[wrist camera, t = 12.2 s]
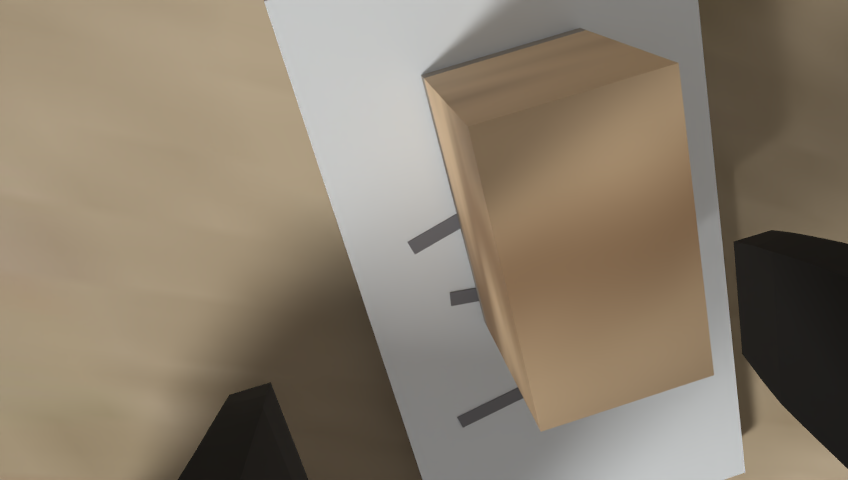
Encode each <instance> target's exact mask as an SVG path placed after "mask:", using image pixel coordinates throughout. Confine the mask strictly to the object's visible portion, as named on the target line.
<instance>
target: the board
mask: <svg viewBox="0 0 848 480" xmlns="http://www.w3.org/2000/svg"><path fill="white" fill-rule="evenodd" d="M264 2H265V5H266V9H267V12H268V15H269V18H270V21H271V24H272V27H273V30H274V33H275V36H276V39H277V42H278V45H279V48H280V51H281V54H282V57H283V60H284V63H285V66H286V69H287V72H288V75H289V78H290V81H291V84H292V87H293V90H294V93H295V96H296V99H297V102H298V105H299V108H300V111H301V114H302V117H303V120H304V123H305V126H306V129H307V132H308V135H309V138H310V141H311V144H312V147H313V150H314V154H315V157H316V160H317V163H318V166H319V169H320V172H321V175H322V178H323V181H324V184H325V187H326V190H327V193H328V196H329V199H330V202H331V205H332V208H333V211H334V214H335V217H336V220H337V223H338V226H339V229H340V232H341V235H342V238H343V241H344V244H345V247H346V250H347V253H348V256H349V259H350V262H351V265H352V268H353V271H354V274H355V277H356V280H357V283H358V286H359V289H360V292H361V295H362V299H363V302H364V305H365V308H366V311H367V314H368V317H369V320H370V323H371V326H372V329H373V332H374V335H375V338H376V341H377V344H378V347H379V350H380V353H381V356H382V359H383V362H384V365H385V368H386V371H387V374H388V377H389V380H390V383H391V386H392V389H393V392H394V395H395V398H396V401H397V404H398V407H399V410H400V413H401V416H402V419H403V422H404V425H405V428H406V431H407V434H408V437H409V440H410V443H411V447H412V450H413V453H414V456H415V459H416V462H417V465H418V468H419V471H420V474H421V477H422V480H724V479H727V478H730V477H733V476H736V475H739V474H742V473H745V465H744V455H743V445H742V435H741V425H740V415H739V405H738V395H737V385H736V375H735V365H734V355H733V345H732V335H731V325H730V315H729V305H728V295H727V285H726V275H725V265H724V255H723V245H722V235H721V225H720V215H719V205H718V194H717V184H716V174H715V164H714V154H713V144H712V134H711V124H710V114H709V104H708V94H707V84H706V74H705V64H704V54H703V44H702V34H701V24H700V14H699V4H698V0H264ZM578 28H582V29H585V30H587V31H590V32H593V33H596V34H599V35H602V36H604V37H607V38H610V39H613V40H616V41H618V42H621V43H624V44H627V45H630V46H632V47H635V48H638V49H641V50H644V51H646V52H649V53H652V54H655V55H658V56H660V57H663V58H666V59H669V60H672V61H674V62H677V63H679V71H680V79H681V88H682V97H683V106H684V115H685V123H686V132H687V141H688V150H689V158H690V167H691V176H692V185H693V193H694V202H695V211H696V220H697V229H698V237H699V246H700V255H701V264H702V272H703V281H704V290H705V299H706V308H707V316H708V325H709V334H710V343H711V351H712V360H713V369H714V375H713V376H710V377H707V378H704V379H701V380H698V381H695V382H692V383H689V384H686V385H683V386H679V387H676V388H673V389H670V390H667V391H664V392H661V393H658V394H655V395H652V396H649V397H646V398H643V399H640V400H637V401H634V402H631V403H628V404H624V405H621V406H618V407H615V408H612V409H609V410H606V411H603V412H600V413H597V414H594V415H591V416H588V417H585V418H582V419H579V420H576V421H573V422H569V423H566V424H563V425H560V426H557V427H554V428H551V429H548V430H545V431H542V432H541V431H540V429H539V427H538V425H537V423H536V422H535V420H534V418H533V416H532V414H531V412H530V410H529V408H528V406H527V404H526V402H525V400H524V398H523V396H522V394H521V392H520V390H519V388H518V386H517V384H516V382H515V380H514V378H513V376H512V375H511V373H510V371H509V369H508V367H507V365H506V363H505V361H504V359H503V357H502V355H501V353H500V351H499V349H498V347H497V345H496V343H495V341H494V339H493V337H492V335H491V333H490V331H489V330H488V328H487V326H486V324H485V322H484V318H483V314H482V310H481V306H480V302H479V299H478V295H477V291H476V287H475V283H474V279H473V275H472V271H471V267H470V264H469V260H468V256H467V252H466V248H465V244H464V240H463V236H462V233H461V229H460V225H459V221H458V217H457V213H456V209H455V205H454V201H453V198H452V194H451V190H450V186H449V182H448V178H447V174H446V170H445V167H444V163H443V159H442V155H441V151H440V147H439V143H438V139H437V135H436V132H435V128H434V124H433V120H432V116H431V112H430V108H429V104H428V101H427V97H426V93H425V89H424V85H423V81H422V77H421V75H423V74H426V73H430V72H433V71H436V70H440V69H443V68H446V67H450V66H453V65H457V64H460V63H463V62H467V61H470V60H473V59H477V58H480V57H484V56H487V55H490V54H494V53H497V52H500V51H504V50H507V49H511V48H514V47H517V46H521V45H524V44H527V43H531V42H534V41H537V40H541V39H544V38H548V37H551V36H554V35H558V34H561V33H564V32H568V31H571V30H575V29H578Z"/></svg>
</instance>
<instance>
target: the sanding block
mask: <svg viewBox="0 0 848 480" xmlns="http://www.w3.org/2000/svg"><path fill="white" fill-rule="evenodd" d="M421 77H422V81H423V85H424V89H425V93H426V97H427V101H428V104H429V108H430V112H431V116H432V120H433V124H434V128H435V132H436V135H437V139H438V143H439V147H440V151H441V155H442V159H443V163H444V167H445V170H446V174H447V178H448V182H449V186H450V190H451V194H452V198H453V201H454V205H455V209H456V213H457V217H458V221H459V225H460V229H461V233H462V236H463V240H464V244H465V248H466V252H467V256H468V260H469V264H470V267H471V271H472V275H473V279H474V283H475V287H476V291H477V295H478V299H479V302H480V306H481V310H482V314H483V318H484V322H485V324H486V326H487V328H488V330H489V331H490V333H491V335H492V337H493V339H494V341H495V343H496V345H497V347H498V349H499V351H500V353H501V355H502V357H503V359H504V361H505V363H506V365H507V367H508V369H509V371H510V373H511V375H512V376H513V378H514V380H515V382H516V384H517V386H518V388H519V390H520V392H521V394H522V396H523V398H524V400H525V402H526V404H527V406H528V408H529V410H530V412H531V414H532V416H533V418H534V420H535V422H536V423H537V425H538V427H539V429H540V431H541V432H542V431H545V430H548V429H551V428H554V427H557V426H560V425H563V424H566V423H569V422H573V421H576V420H579V419H582V418H585V417H588V416H591V415H594V414H597V413H600V412H603V411H606V410H609V409H612V408H615V407H618V406H621V405H624V404H628V403H631V402H634V401H637V400H640V399H643V398H646V397H649V396H652V395H655V394H658V393H661V392H664V391H667V390H670V389H673V388H676V387H679V386H683V385H686V384H689V383H692V382H695V381H698V380H701V379H704V378H707V377H710V376H713V375H714V369H713V360H712V351H711V343H710V334H709V325H708V316H707V308H706V299H705V290H704V281H703V272H702V264H701V255H700V246H699V237H698V229H697V220H696V211H695V202H694V193H693V185H692V176H691V167H690V158H689V150H688V141H687V132H686V123H685V115H684V106H683V97H682V88H681V79H680V71H679V63H677V62H674V61H672V60H669V59H666V58H663V57H660V56H658V55H655V54H652V53H649V52H646V51H644V50H641V49H638V48H635V47H632V46H630V45H627V44H624V43H621V42H618V41H616V40H613V39H610V38H607V37H604V36H602V35H599V34H596V33H593V32H590V31H587V30H585V29H582V28H578V29H575V30H571V31H568V32H564V33H561V34H558V35H554V36H551V37H548V38H544V39H541V40H537V41H534V42H531V43H527V44H524V45H521V46H517V47H514V48H511V49H507V50H504V51H500V52H497V53H494V54H490V55H487V56H484V57H480V58H477V59H473V60H470V61H467V62H463V63H460V64H457V65H453V66H450V67H446V68H443V69H440V70H436V71H433V72H430V73H426V74H423V75H421Z"/></svg>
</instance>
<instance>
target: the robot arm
mask: <svg viewBox="0 0 848 480" xmlns="http://www.w3.org/2000/svg"><path fill="white" fill-rule="evenodd" d="M734 251H735V264H736V277H737V290H738V303H739V316H740V329H741V342H742V354H743V355H744V357H745V358H746V359H747V361H748V362H749V363H750V365H751V366H752V367H753V369H754V370H755V371H756V373H757V374H758V375H759V377H760V378H761V379H762V381H763V382H764V383H765V384H766V386H767V387H768V388H769V389H770V391H771V392H772V393H773V394H774V396H775V397H776V398H777V399H778V401H779V402H780V403H781V404H782V405H783V406H784V407H785V408H786V409H787V410H788V411H789V412H790V413H791V414H792V415H793V416H794V417H795V418H796V419H797V420H798V421H799V422H800V423H801V424H802V425H803V426H804V427H805V428H806V429H807V430H808V431H809V432H810V433H811V434H812V435H813V436H814V437H815V438H816V439H817V440H818V441H819V442H820V443H821V444H822V445H824V446H825V447H826V448H827V449H828V450H829V451H830V452H831V453H832V454H833V455H834V456H835V457H836V458H837V459H838V460H839V461H840V462H841V463H842V464H843V465H844V466H845V467H847V468H848V244H846V243H842V242H837V241H832V240H828V239H823V238H818V237H813V236H808V235H802V234H797V233H790V232H783V231H774V230H771V231H767V232H764V233H761V234H757V235H754V236H751V237H748V238H744V239H741V240H738V241H734ZM178 480H308V478H307V475H306V473H305V470H304V467H303V465H302V462H301V460H300V457H299V455H298V452H297V449H296V447H295V444H294V442H293V439H292V437H291V434H290V431H289V429H288V426H287V424H286V421H285V418H284V416H283V413H282V411H281V408H280V406H279V403H278V400H277V398H276V395H275V393H274V390H273V388H272V385H271V382H270V383H267V384H264V385H260V386H257V387H254V388H251V389H247V390H244V391H241V392H237V393H234V394H231V395H229V397H228V398H227V400H226V401H225V403H224V405H223V406H222V408H221V410H220V411H219V413H218V415H217V416H216V418H215V420H214V421H213V423H212V425H211V426H210V428H209V430H208V431H207V433H206V435H205V436H204V438H203V440H202V441H201V443H200V445H199V446H198V448H197V450H196V451H195V453H194V455H193V456H192V458H191V460H190V461H189V463H188V464H187V466H186V468H185V469H184V471H183V472H182V474H181V476H180V477H179V479H178Z"/></svg>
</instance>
